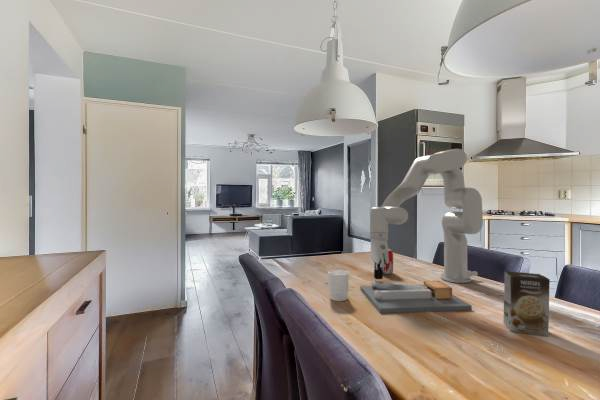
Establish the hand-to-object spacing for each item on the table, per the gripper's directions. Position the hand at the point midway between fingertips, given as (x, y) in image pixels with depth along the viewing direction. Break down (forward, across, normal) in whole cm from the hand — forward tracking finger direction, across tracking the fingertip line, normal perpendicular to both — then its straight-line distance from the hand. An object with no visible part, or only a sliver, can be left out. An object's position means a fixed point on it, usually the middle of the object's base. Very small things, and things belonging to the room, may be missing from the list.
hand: (378, 278), depth 125 cm
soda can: (+4, +22, -11) cm, 25 cm away
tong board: (+4, -15, -7) cm, 17 cm away
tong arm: (+2, -10, -5) cm, 11 cm away
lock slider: (+2, -16, -17) cm, 24 cm away
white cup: (+4, -12, +20) cm, 23 cm away
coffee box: (+4, -42, -29) cm, 51 cm away
